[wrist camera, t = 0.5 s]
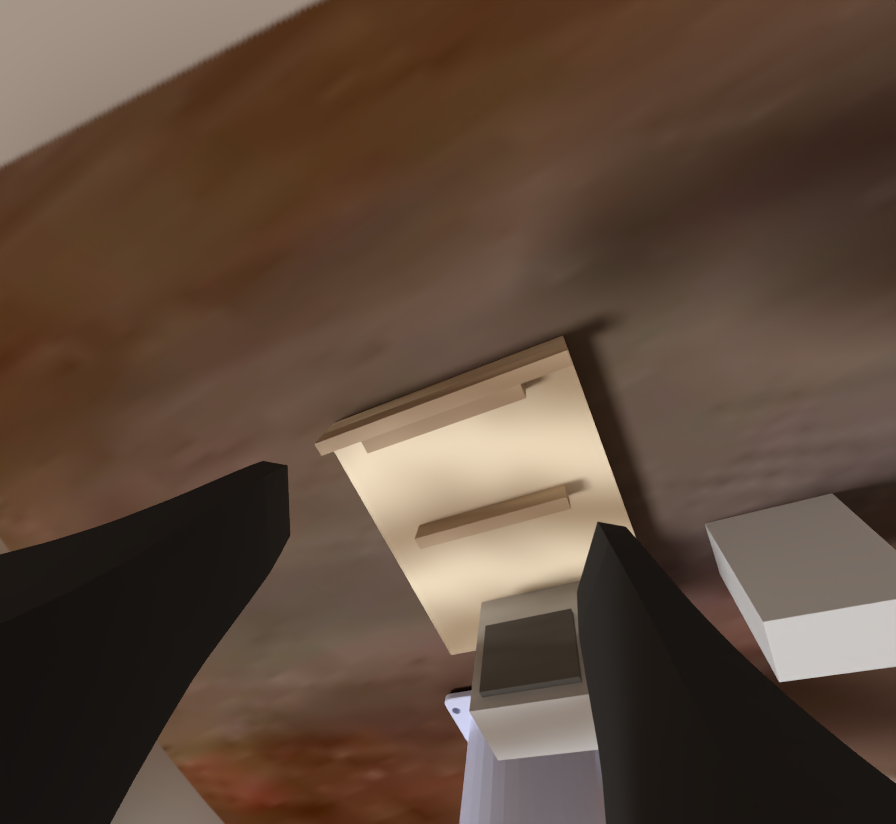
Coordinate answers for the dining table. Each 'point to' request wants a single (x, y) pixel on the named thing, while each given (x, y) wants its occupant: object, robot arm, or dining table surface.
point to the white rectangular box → (811, 586)
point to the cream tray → (495, 531)
